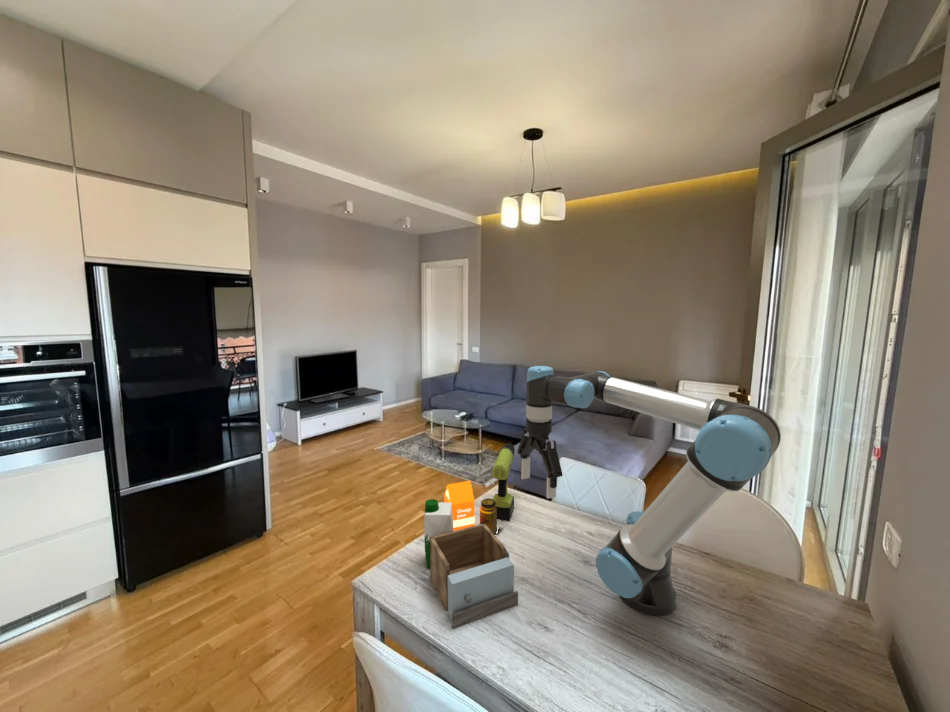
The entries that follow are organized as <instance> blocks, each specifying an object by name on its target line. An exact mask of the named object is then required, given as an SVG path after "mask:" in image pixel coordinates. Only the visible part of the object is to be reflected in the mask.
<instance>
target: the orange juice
mask: <svg viewBox="0 0 950 712" xmlns="http://www.w3.org/2000/svg"><path fill="white" fill-rule="evenodd" d="M443 496H444V497H443V498H444V499H443V502H444V503H452V513H453V531H456V530H460V529H464V528H468V527H471V526H475V525H476V524H475V523H476V519H475V517H476V515H475V497H474V491H473V486H472V482H471V480H467V481H466V480H465V481H460V482H454V483H448V484H447V485H446V488H445V492H444V495H443Z"/></svg>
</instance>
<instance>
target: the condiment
mask: <svg viewBox="0 0 950 712" xmlns="http://www.w3.org/2000/svg"><path fill="white" fill-rule="evenodd" d="M483 523H485V525H486V526H487V527H488V528H489V529H490V530H491V532H492V533H493V534H494V535H497V534H498V535H500V533H501V532H502V530H503V529H504V527H502V526H498V525H497V523H498V521H497V509H496V502H495V501H494V500H493V498H484V499H483V498H482V500H481V501H480V507H479V524H483ZM497 526H498V527H499V529H498V533H497V534H496V531H497Z"/></svg>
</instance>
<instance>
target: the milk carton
mask: <svg viewBox="0 0 950 712" xmlns="http://www.w3.org/2000/svg"><path fill="white" fill-rule="evenodd" d="M423 527H424V553H425V554H424V555H425V563H426V569H430V537H433V536H437V535H440V534H444V533H448V532H452V531H453V513H452V503H444V501H443V502H442V501H441V502H439V501H438V500H437V499H435V498H434V499H433V498H430V499H427V500H426V501H425V506H424V526H423Z"/></svg>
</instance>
